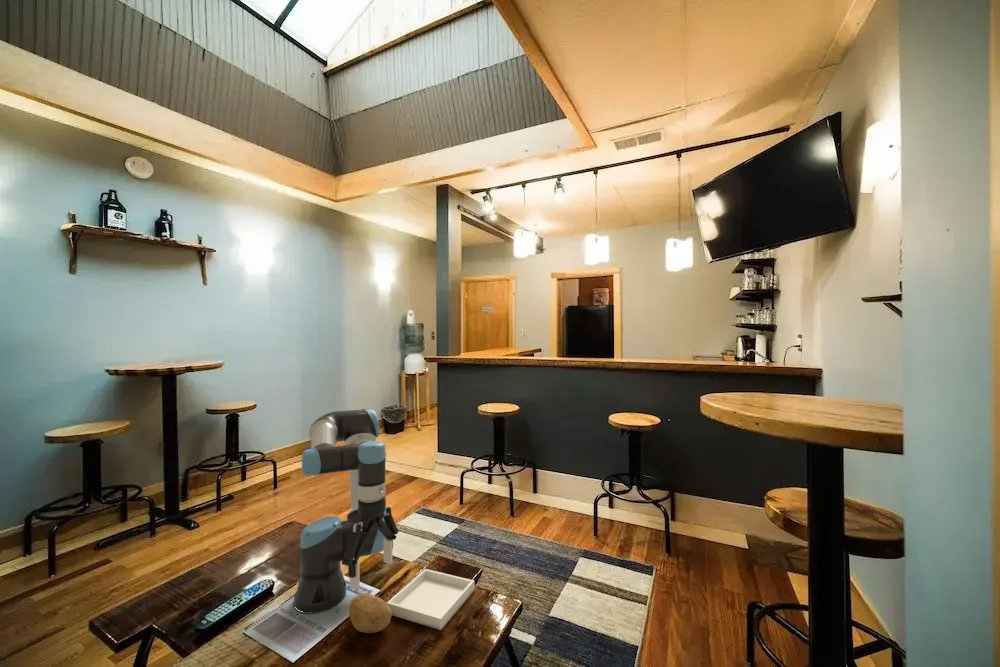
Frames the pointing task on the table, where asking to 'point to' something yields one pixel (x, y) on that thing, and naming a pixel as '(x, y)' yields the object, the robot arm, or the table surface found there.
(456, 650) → the table surface
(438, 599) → the bin
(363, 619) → the potato
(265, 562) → the table surface
